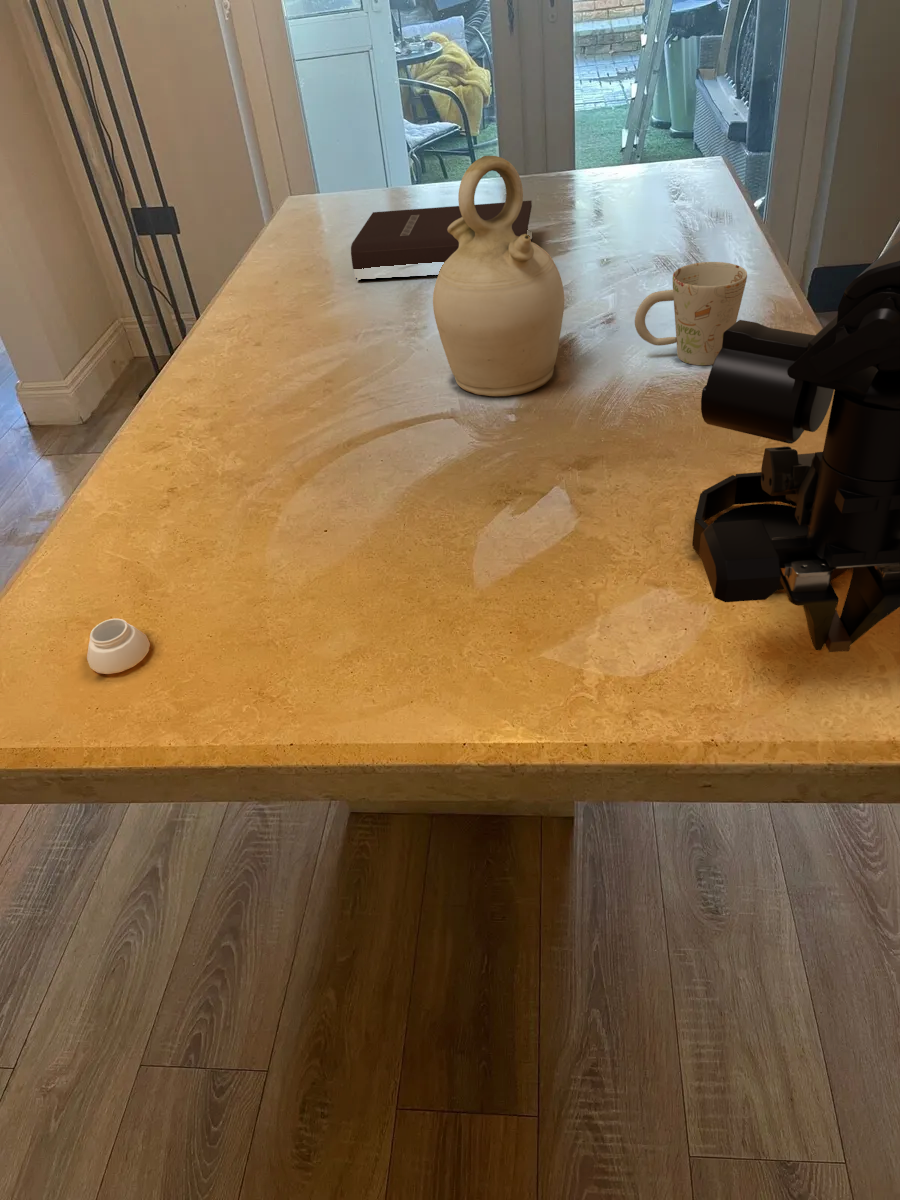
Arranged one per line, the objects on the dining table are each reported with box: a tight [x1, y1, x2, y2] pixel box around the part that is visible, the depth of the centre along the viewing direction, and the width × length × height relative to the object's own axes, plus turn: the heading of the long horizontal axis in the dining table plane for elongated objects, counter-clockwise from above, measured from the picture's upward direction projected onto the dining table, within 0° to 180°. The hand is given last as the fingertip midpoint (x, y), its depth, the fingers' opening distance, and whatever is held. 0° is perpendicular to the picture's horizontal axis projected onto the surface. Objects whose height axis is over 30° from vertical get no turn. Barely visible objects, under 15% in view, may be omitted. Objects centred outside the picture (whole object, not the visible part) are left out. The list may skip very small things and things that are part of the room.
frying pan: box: [691, 471, 852, 653], centre depth 69 cm, size 23×14×4 cm, turn 179°
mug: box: [634, 261, 748, 366], centre depth 102 cm, size 8×13×10 cm, turn 89°
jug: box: [432, 155, 565, 397], centre depth 98 cm, size 15×16×25 cm
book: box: [350, 200, 533, 270], centre depth 142 cm, size 28×20×6 cm
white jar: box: [86, 617, 151, 675], centre depth 70 cm, size 5×3×5 cm
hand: (828, 645), depth 62 cm, fingers closed on frying pan
